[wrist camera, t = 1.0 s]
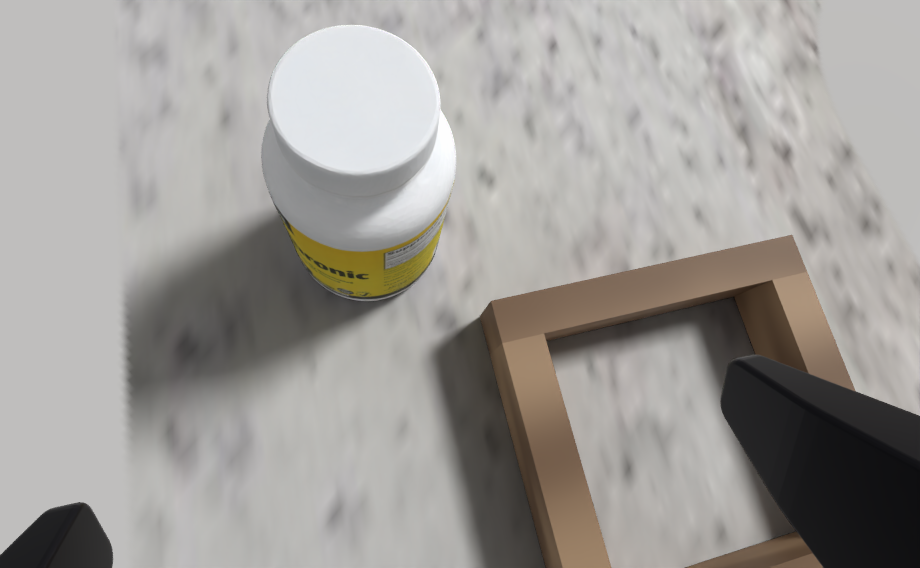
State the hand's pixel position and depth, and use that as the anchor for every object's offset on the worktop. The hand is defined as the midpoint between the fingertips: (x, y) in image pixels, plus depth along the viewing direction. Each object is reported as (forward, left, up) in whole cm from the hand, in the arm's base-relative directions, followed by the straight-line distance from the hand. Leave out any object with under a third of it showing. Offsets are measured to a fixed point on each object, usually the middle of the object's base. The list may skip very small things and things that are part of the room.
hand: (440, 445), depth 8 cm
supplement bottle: (+8, 0, -14) cm, 16 cm away
